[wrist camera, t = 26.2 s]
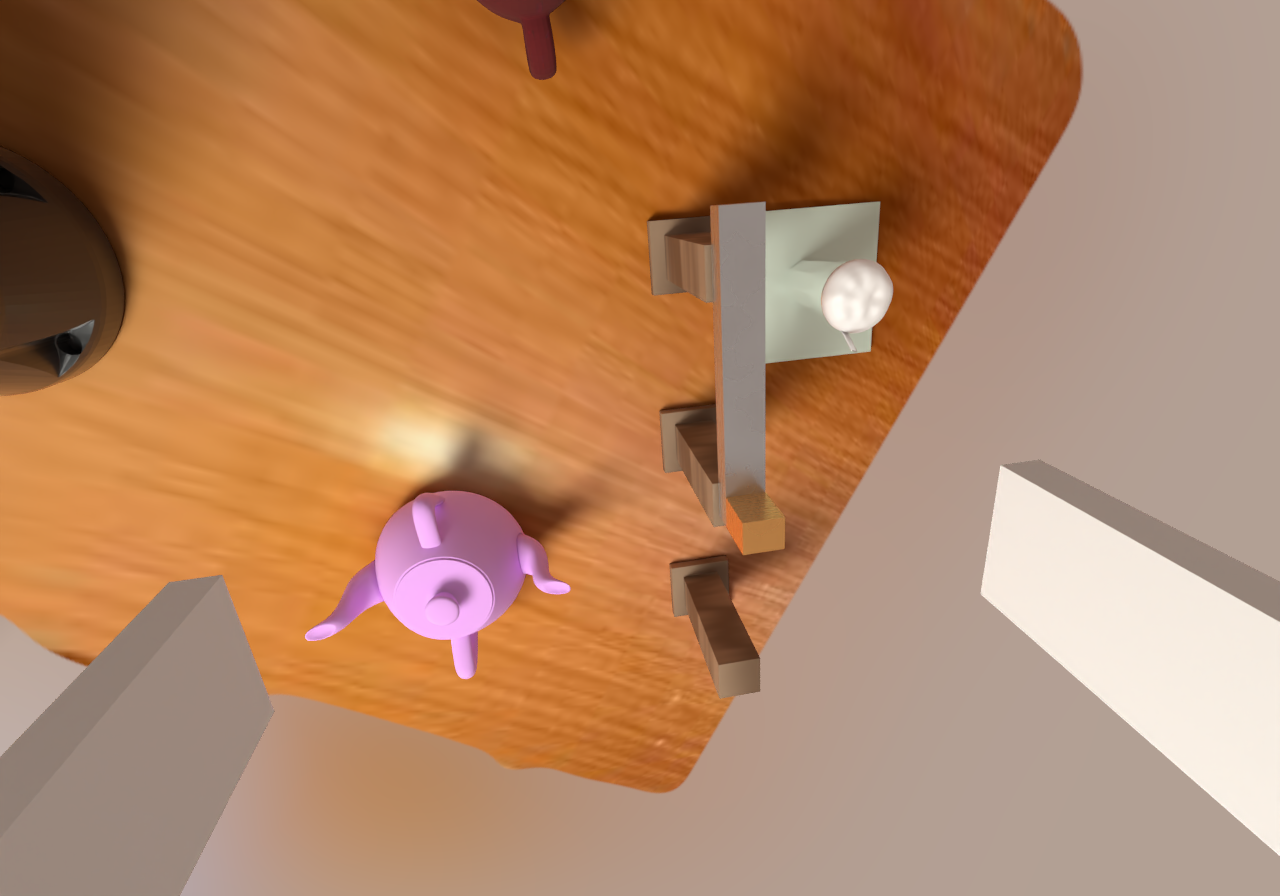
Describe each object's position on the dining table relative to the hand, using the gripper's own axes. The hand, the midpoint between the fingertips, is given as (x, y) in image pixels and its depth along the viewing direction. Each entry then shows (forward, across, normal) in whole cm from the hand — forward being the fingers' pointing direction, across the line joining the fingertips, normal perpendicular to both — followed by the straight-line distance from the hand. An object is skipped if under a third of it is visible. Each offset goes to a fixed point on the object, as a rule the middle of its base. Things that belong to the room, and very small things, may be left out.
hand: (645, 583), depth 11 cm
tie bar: (+24, +9, -4) cm, 26 cm away
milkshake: (+36, +18, -1) cm, 40 cm away
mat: (+37, +18, -1) cm, 41 cm away
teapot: (+37, -11, -19) cm, 43 cm away
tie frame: (+37, +9, -12) cm, 40 cm away
